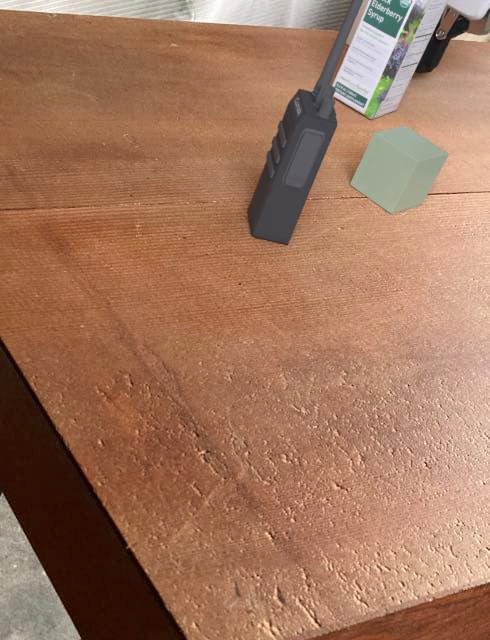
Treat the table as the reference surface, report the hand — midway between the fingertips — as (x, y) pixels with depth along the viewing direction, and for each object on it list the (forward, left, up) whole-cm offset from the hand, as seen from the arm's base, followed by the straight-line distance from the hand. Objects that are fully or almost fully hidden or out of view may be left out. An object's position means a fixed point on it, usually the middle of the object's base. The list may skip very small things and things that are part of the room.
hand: (419, 69), depth 111 cm
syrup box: (-3, +14, -1) cm, 14 cm away
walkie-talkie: (-17, +45, -1) cm, 48 cm away
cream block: (+6, 0, -1) cm, 6 cm away
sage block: (-17, +28, -1) cm, 33 cm away
